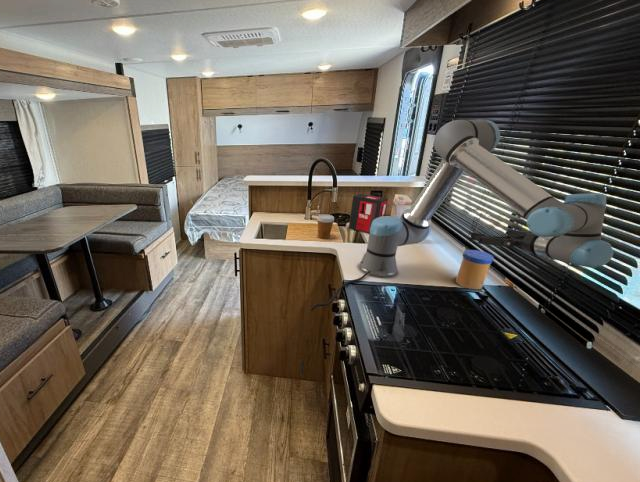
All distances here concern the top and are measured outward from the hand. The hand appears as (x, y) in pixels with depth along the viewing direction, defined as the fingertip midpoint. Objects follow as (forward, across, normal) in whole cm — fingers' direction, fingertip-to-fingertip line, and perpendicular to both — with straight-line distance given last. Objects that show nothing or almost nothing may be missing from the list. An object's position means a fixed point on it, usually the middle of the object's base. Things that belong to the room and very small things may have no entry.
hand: (490, 234), depth 115 cm
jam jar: (+5, -3, -21) cm, 22 cm away
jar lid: (+3, -2, -9) cm, 9 cm away
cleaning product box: (+69, -21, -6) cm, 73 cm away
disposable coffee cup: (+58, -48, -6) cm, 76 cm away
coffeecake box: (+72, -1, -8) cm, 72 cm away
